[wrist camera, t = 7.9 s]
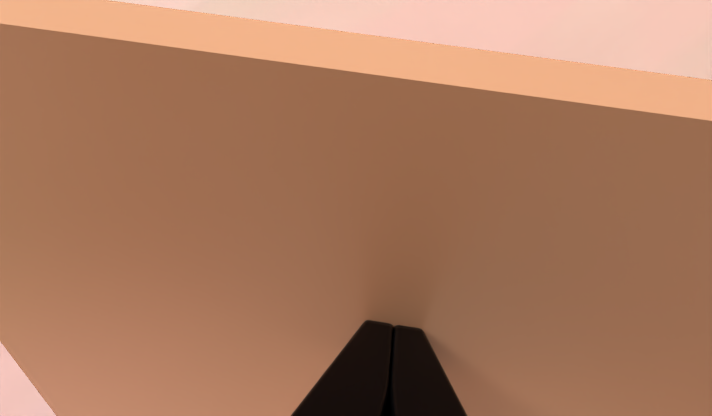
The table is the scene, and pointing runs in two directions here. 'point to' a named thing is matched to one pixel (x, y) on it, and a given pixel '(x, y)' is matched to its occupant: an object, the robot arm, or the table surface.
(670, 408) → the duct cover
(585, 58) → the table surface
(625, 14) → the table surface
